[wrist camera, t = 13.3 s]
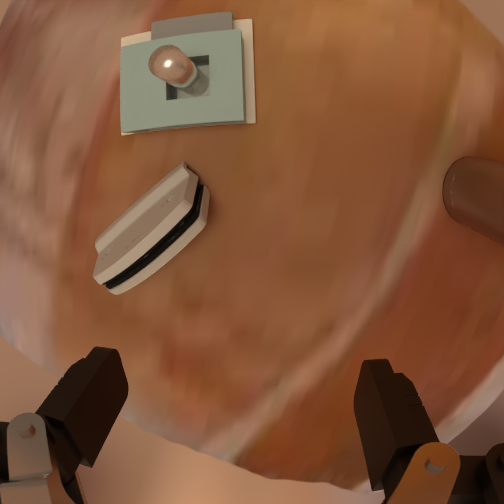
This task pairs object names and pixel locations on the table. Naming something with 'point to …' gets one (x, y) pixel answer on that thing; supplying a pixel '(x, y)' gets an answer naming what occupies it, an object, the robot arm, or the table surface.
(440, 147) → the table surface
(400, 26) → the table surface
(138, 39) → the square frame block
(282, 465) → the table surface
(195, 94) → the pin
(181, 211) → the white black beveled block
